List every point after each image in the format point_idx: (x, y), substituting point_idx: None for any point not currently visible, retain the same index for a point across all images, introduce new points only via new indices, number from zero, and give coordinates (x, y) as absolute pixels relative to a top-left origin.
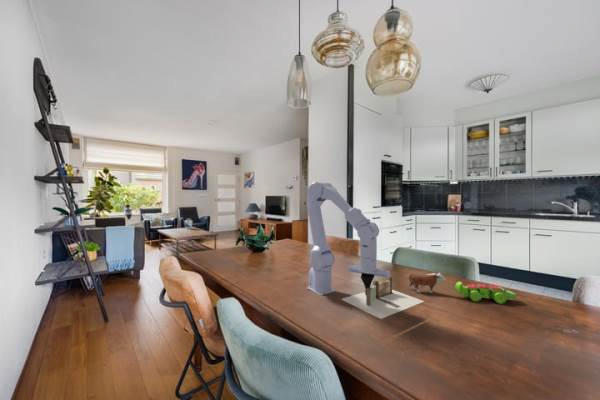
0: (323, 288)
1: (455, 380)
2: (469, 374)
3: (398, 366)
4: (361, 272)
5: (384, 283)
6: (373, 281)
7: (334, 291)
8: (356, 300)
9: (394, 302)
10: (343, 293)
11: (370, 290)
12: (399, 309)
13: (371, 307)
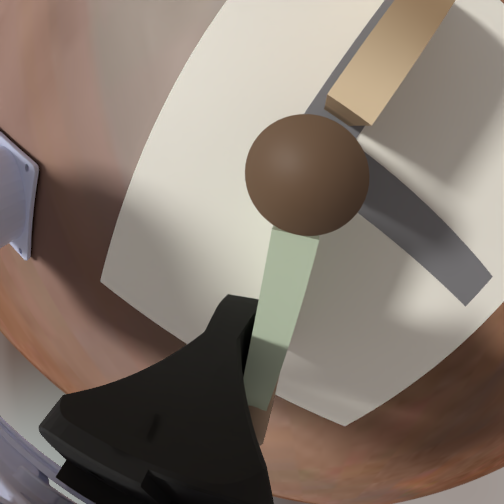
0: (4, 244)
1: (432, 489)
2: (462, 476)
3: (355, 497)
4: (73, 491)
5: (434, 28)
6: (256, 189)
7: (35, 181)
8: (177, 274)
9: (471, 215)
10: (72, 163)
11: (265, 403)
12: (470, 321)
13: (298, 350)
